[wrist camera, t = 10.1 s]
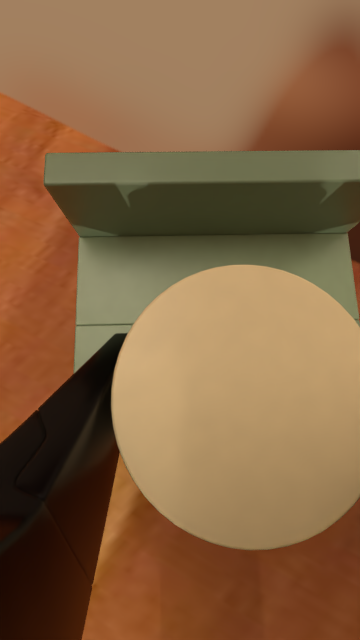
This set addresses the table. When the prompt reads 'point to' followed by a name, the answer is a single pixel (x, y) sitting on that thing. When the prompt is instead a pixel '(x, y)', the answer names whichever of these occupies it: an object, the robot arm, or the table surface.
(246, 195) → the stand
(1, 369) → the table surface
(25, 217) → the table surface
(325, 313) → the peg
